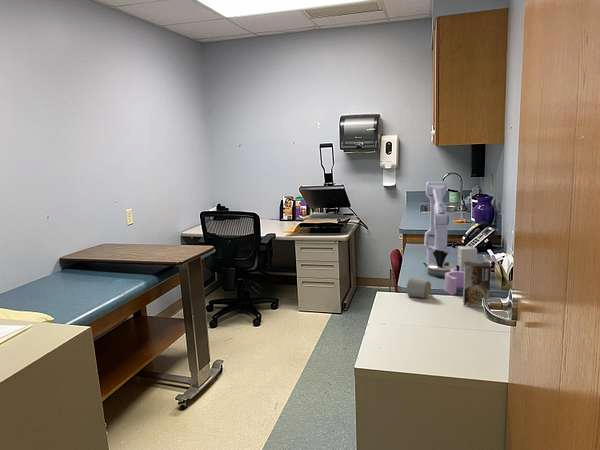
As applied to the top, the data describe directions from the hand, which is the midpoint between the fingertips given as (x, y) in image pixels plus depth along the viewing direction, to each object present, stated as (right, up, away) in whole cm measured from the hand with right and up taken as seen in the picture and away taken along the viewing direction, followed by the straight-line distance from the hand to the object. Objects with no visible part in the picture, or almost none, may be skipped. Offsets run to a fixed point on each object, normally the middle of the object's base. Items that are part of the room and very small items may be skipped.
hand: (440, 266), depth 208 cm
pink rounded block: (+1, -8, -22) cm, 24 cm away
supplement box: (+14, -4, +4) cm, 16 cm away
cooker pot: (+1, -4, +1) cm, 4 cm away
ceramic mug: (-19, -9, -31) cm, 38 cm away
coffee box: (0, -11, -43) cm, 44 cm away
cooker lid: (+1, -1, +1) cm, 2 cm away
